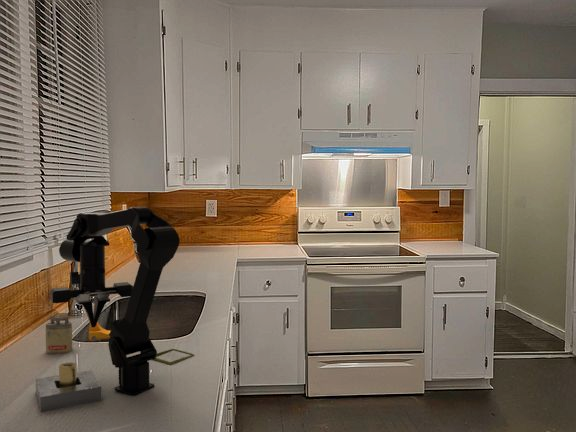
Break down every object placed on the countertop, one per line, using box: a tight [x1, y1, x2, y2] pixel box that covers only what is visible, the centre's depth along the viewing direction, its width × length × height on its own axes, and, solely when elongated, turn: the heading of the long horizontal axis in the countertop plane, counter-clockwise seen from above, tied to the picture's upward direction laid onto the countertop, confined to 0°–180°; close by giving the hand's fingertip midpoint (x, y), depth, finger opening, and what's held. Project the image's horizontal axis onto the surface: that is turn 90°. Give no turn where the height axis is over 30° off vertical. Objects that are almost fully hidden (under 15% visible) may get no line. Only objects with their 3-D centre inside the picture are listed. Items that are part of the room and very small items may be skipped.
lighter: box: [45, 315, 73, 354], centre depth 148 cm, size 7×4×10 cm, turn 99°
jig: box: [35, 369, 102, 412], centre depth 116 cm, size 12×12×3 cm
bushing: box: [58, 362, 77, 388], centre depth 116 cm, size 4×4×7 cm
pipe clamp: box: [88, 321, 111, 341], centre depth 161 cm, size 12×4×6 cm, turn 104°
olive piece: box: [153, 348, 195, 365], centre depth 141 cm, size 9×9×2 cm
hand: (93, 327), depth 129 cm, fingers closed
